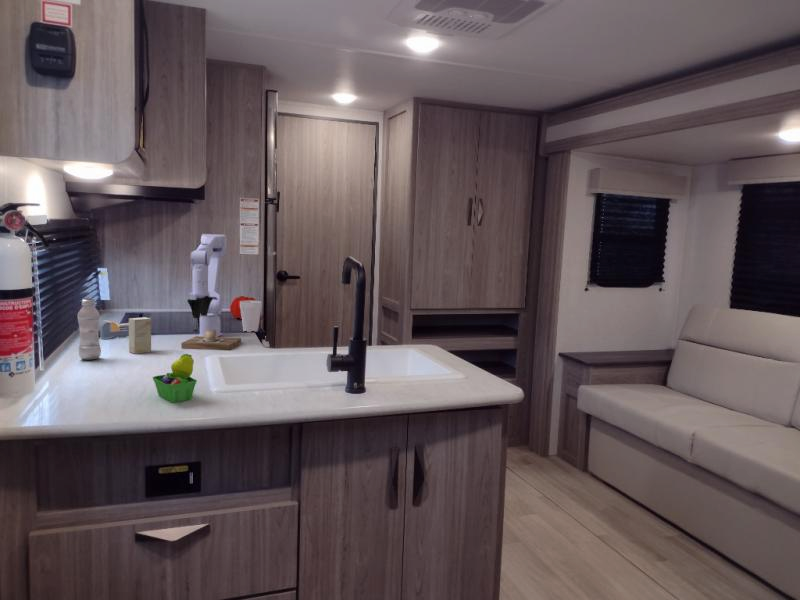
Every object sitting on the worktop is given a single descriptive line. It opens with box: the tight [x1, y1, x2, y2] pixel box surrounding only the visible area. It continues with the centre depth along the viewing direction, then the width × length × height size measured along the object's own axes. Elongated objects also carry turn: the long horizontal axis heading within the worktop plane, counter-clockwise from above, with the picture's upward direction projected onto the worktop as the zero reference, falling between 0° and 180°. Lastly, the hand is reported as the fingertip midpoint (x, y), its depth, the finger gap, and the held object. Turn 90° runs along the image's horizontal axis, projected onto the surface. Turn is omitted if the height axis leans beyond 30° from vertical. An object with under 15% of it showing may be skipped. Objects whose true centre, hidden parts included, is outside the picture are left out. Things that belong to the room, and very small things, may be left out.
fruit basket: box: [152, 353, 197, 403], centre depth 149 cm, size 11×9×11 cm
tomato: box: [229, 295, 257, 320], centre depth 282 cm, size 13×14×12 cm
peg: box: [205, 330, 216, 342], centre depth 215 cm, size 4×4×6 cm
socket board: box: [180, 335, 242, 351], centre depth 216 cm, size 14×18×2 cm
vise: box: [98, 319, 129, 341], centre depth 229 cm, size 18×10×7 cm, turn 141°
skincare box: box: [128, 316, 152, 355], centre depth 200 cm, size 6×4×12 cm
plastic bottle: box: [76, 298, 102, 361], centre depth 186 cm, size 6×7×20 cm
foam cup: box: [240, 300, 263, 333], centre depth 250 cm, size 10×9×13 cm
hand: (200, 316), depth 219 cm, fingers open, 7 cm apart
